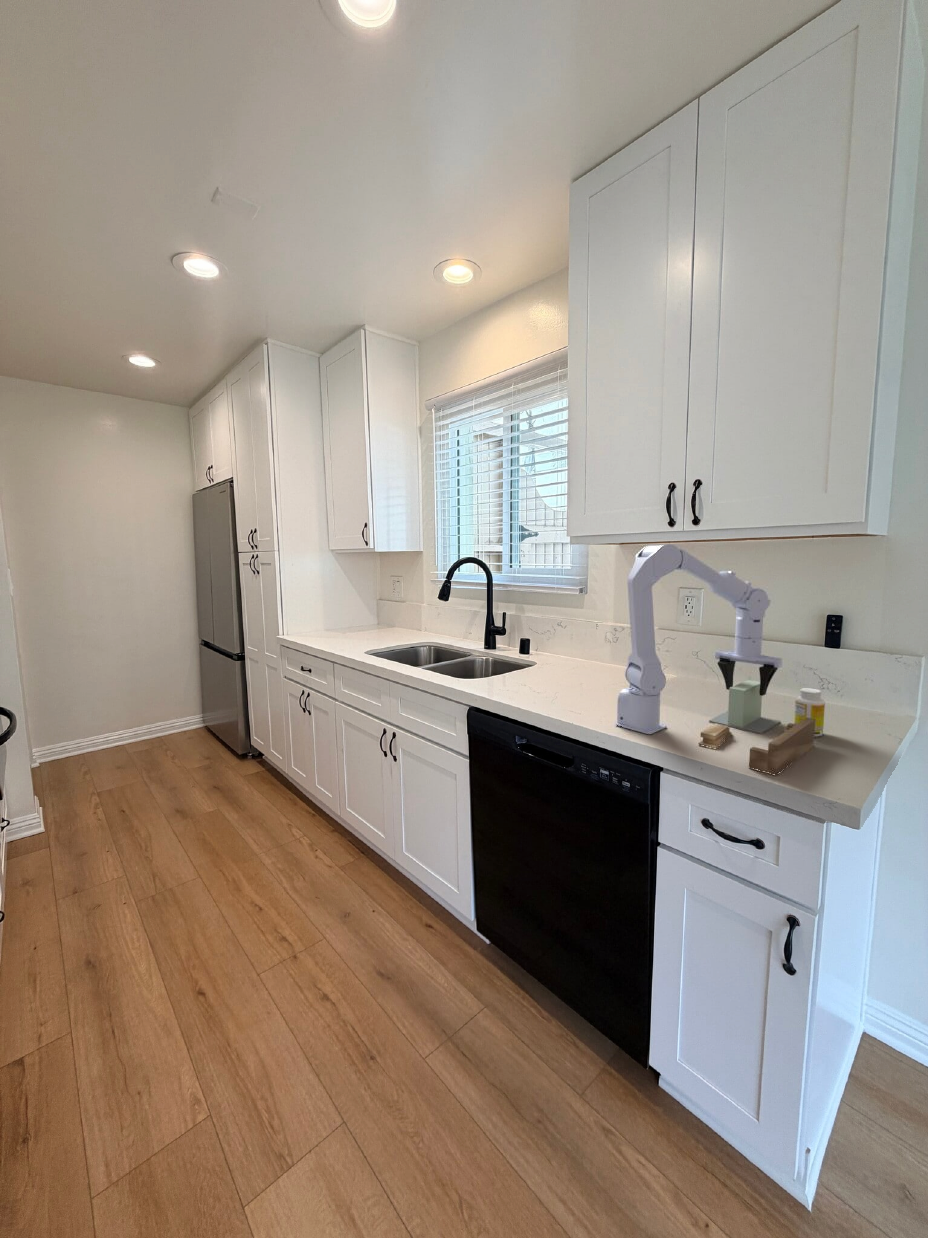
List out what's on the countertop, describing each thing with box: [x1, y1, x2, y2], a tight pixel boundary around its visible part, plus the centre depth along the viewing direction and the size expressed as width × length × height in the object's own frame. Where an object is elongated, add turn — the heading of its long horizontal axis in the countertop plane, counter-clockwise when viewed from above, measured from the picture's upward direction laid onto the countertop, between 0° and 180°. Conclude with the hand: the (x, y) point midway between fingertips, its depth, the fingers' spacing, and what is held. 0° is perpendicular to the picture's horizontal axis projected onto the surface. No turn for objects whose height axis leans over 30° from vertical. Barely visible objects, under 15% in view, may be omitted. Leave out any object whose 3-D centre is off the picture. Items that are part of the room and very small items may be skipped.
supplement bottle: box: [793, 687, 826, 738], centre depth 117 cm, size 6×6×10 cm
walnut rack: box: [748, 718, 815, 776], centre depth 104 cm, size 5×22×6 cm, turn 130°
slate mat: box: [708, 710, 781, 735], centre depth 126 cm, size 12×12×1 cm
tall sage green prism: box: [727, 679, 763, 727], centre depth 125 cm, size 3×11×9 cm, turn 130°
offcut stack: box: [698, 723, 733, 749], centre depth 114 cm, size 4×12×3 cm, turn 138°
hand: (745, 691), depth 125 cm, fingers open, 7 cm apart
